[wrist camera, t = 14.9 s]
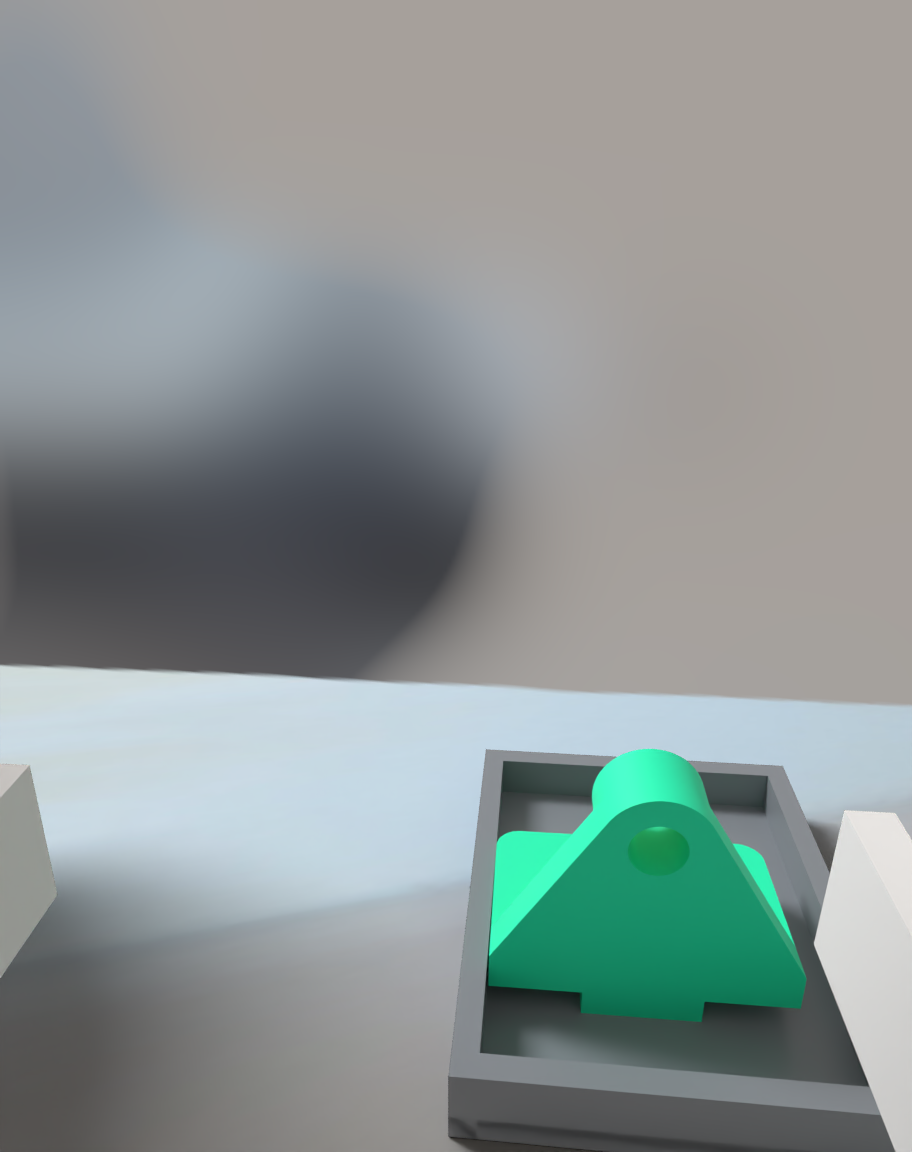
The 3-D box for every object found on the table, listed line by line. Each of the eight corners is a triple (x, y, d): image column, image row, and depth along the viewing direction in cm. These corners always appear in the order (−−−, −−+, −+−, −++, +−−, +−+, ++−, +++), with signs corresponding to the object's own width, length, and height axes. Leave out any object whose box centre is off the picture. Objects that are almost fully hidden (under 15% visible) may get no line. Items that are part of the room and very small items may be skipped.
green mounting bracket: (751, 890, 41) (783, 699, 37) (796, 1029, 34) (841, 811, 30) (496, 874, 42) (501, 686, 38) (487, 1006, 35) (492, 791, 31)
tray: (448, 1136, 31) (448, 1076, 29) (485, 794, 49) (485, 749, 48) (919, 1181, 29) (938, 1120, 28) (774, 812, 48) (782, 766, 47)
